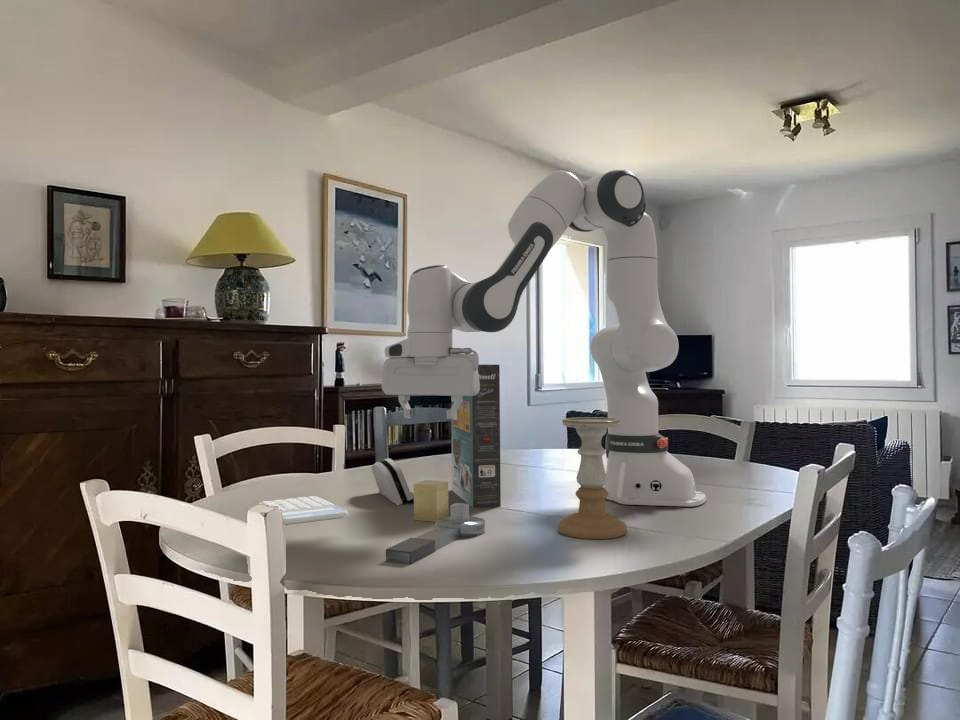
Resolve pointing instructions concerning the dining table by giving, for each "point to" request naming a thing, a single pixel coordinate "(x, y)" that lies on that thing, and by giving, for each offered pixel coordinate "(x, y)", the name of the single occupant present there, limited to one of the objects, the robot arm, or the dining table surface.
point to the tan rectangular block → (430, 500)
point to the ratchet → (437, 536)
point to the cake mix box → (478, 443)
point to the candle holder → (592, 484)
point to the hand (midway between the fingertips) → (430, 418)
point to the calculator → (307, 509)
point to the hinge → (391, 481)
